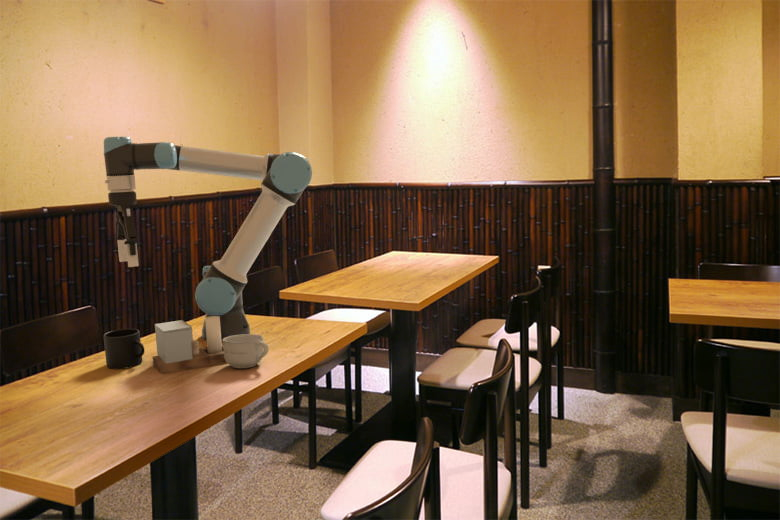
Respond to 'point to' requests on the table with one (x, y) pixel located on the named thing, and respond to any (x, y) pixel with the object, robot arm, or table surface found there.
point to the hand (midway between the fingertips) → (128, 263)
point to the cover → (174, 341)
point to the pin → (213, 334)
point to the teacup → (244, 350)
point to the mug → (123, 348)
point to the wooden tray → (198, 360)
